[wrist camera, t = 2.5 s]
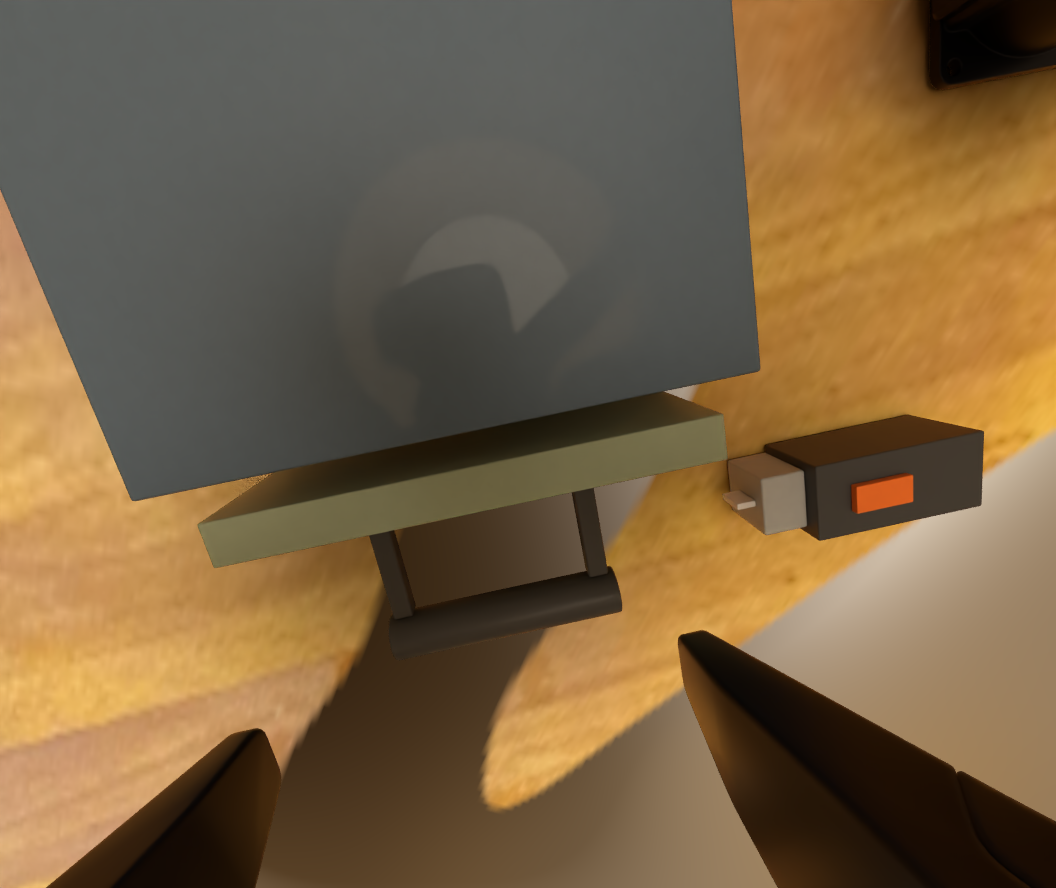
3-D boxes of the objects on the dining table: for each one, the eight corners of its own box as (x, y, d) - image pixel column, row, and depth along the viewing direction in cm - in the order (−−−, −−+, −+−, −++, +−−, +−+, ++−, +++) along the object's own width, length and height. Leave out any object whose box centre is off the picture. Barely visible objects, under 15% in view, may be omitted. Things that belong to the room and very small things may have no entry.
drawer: (667, 535, 19) (745, 627, 14) (343, 605, 19) (276, 731, 13) (594, -4, 15) (661, -218, 9) (169, 75, 15) (-47, -94, 9)
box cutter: (907, 414, 20) (993, 432, 16) (908, 478, 21) (990, 509, 17) (708, 456, 20) (754, 483, 16) (715, 520, 20) (760, 559, 17)
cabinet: (652, 352, 19) (762, 371, 11) (278, 429, 18) (130, 502, 11) (591, -110, 15) (691, -538, 8) (128, -26, 15) (-246, -388, 7)
